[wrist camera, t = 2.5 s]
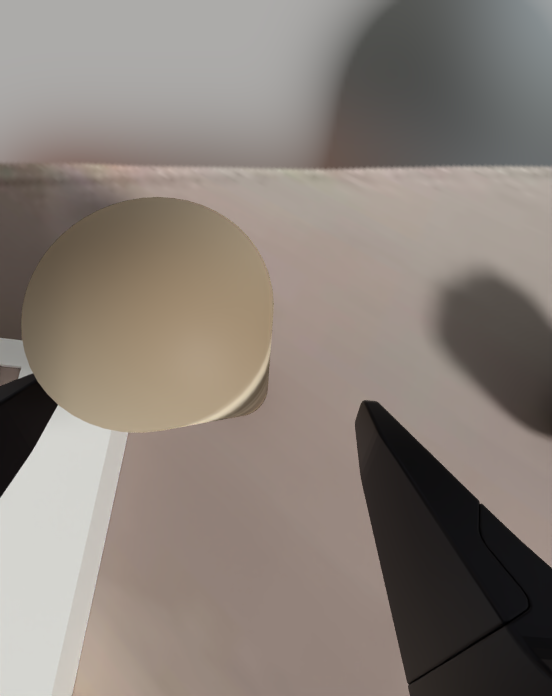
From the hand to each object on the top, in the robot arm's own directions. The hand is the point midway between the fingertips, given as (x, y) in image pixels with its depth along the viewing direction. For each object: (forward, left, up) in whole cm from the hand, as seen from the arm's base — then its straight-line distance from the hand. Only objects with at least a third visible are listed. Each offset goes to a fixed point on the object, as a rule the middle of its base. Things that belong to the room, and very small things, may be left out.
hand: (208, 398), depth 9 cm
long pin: (+1, 0, -9) cm, 9 cm away
